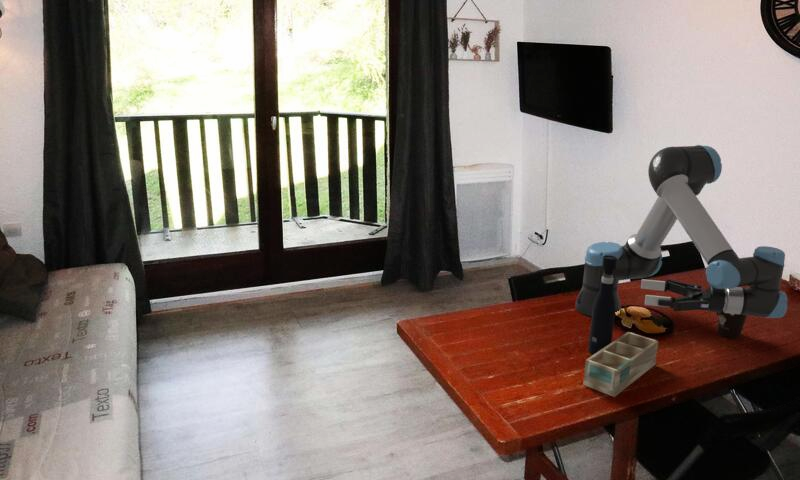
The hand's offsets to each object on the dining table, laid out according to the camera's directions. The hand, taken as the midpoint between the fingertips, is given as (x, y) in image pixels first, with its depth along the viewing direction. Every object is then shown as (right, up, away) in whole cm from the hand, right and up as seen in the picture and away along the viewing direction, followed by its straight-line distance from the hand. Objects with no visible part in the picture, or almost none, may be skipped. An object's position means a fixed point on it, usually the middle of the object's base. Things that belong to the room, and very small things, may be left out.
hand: (643, 291), depth 192 cm
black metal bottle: (-10, -19, +9) cm, 23 cm away
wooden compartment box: (-8, -23, -5) cm, 25 cm away
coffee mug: (+36, -15, +24) cm, 46 cm away
